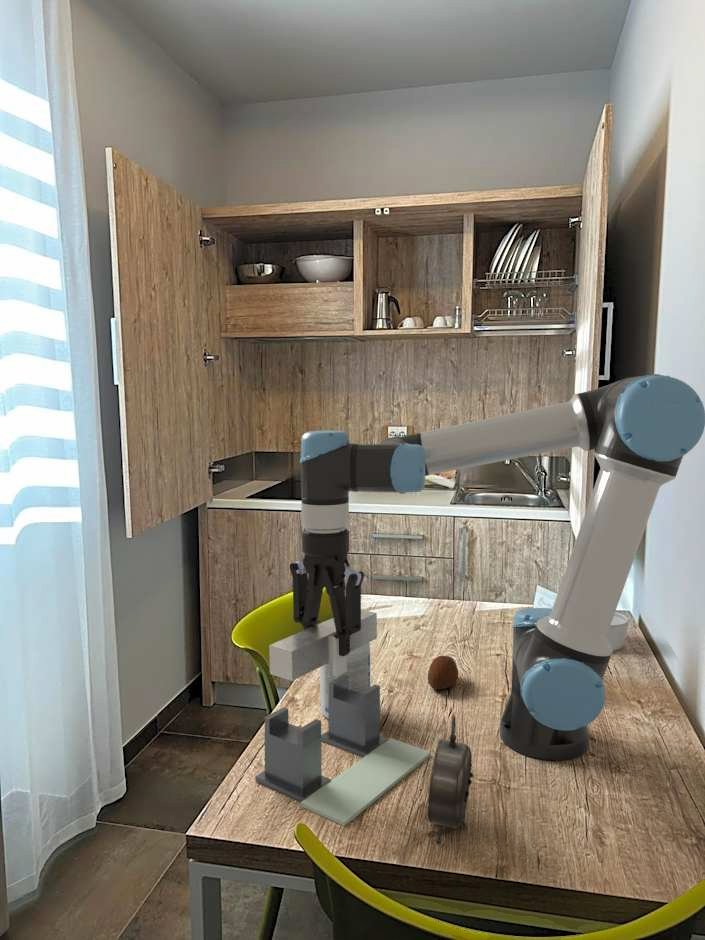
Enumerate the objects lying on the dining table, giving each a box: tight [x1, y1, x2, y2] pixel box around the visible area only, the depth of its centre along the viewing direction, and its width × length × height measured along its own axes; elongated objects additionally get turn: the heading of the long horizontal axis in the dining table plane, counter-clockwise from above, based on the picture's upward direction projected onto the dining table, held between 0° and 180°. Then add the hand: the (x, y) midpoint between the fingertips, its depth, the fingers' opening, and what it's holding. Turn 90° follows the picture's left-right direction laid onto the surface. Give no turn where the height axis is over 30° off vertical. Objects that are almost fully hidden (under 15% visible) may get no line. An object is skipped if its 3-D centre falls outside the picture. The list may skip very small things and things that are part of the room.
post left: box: [254, 706, 332, 803], centre depth 109 cm, size 10×6×10 cm, turn 54°
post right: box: [321, 675, 389, 758], centre depth 122 cm, size 10×6×10 cm, turn 54°
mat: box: [300, 737, 431, 827], centre depth 111 cm, size 8×24×1 cm, turn 144°
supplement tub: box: [319, 642, 371, 719], centre depth 133 cm, size 10×10×15 cm
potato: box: [427, 655, 459, 690], centre depth 146 cm, size 6×12×6 cm, turn 161°
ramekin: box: [607, 611, 629, 652], centre depth 170 cm, size 13×13×7 cm
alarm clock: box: [427, 714, 474, 845], centre depth 98 cm, size 11×5×16 cm, turn 164°
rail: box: [268, 609, 378, 682], centre depth 114 cm, size 4×22×4 cm, turn 144°
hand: (327, 669), depth 114 cm, fingers closed on rail, 4 cm apart
